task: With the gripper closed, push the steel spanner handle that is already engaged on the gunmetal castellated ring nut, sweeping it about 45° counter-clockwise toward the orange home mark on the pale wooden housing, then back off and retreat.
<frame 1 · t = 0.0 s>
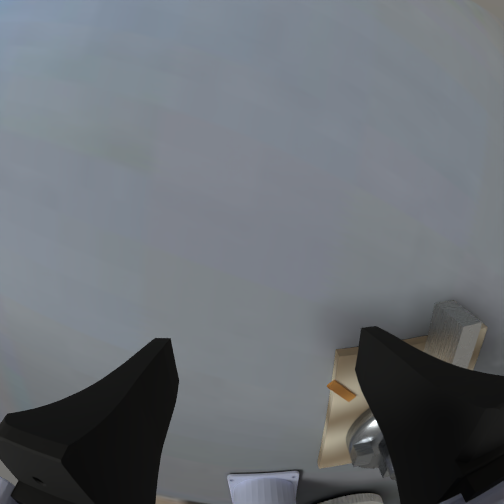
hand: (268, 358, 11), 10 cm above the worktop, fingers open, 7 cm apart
nut housing: (388, 418, 25), on the worktop
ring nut: (417, 410, 20), point 4 cm above the worktop, hinge at 0.0°
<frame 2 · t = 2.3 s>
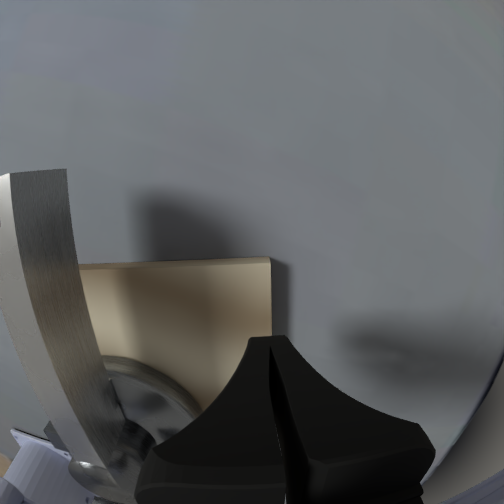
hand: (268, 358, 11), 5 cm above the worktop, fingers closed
nut housing: (135, 405, 17), on the worktop
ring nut: (89, 386, 12), point 4 cm above the worktop, hinge at 0.0°
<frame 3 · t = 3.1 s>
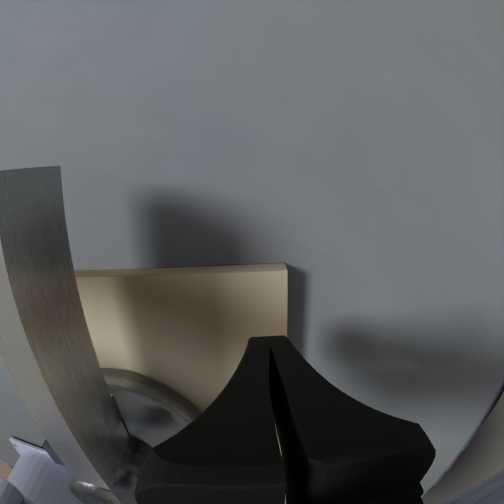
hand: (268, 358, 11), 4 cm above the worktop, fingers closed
nut housing: (138, 417, 16), on the worktop
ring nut: (89, 404, 11), point 4 cm above the worktop, hinge at 0.0°
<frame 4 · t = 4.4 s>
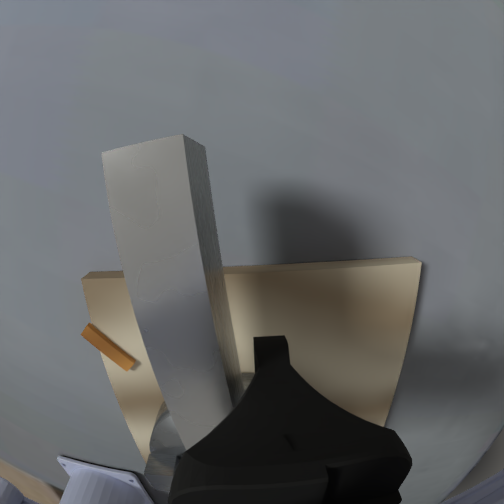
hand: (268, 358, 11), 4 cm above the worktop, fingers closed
nut housing: (242, 422, 16), on the worktop
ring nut: (225, 415, 11), point 4 cm above the worktop, hinge at 4.8°, touching gripper
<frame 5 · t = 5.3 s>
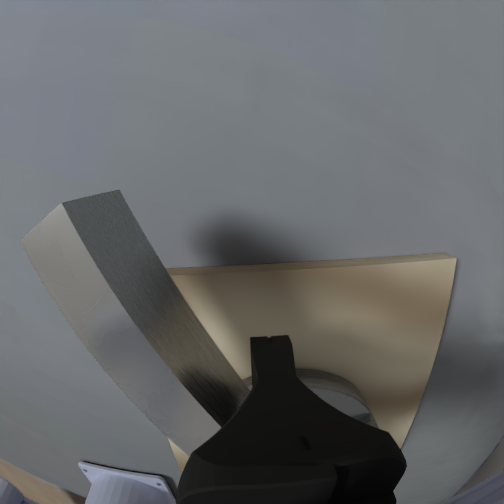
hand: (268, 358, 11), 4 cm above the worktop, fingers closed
nut housing: (281, 419, 16), on the worktop
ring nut: (241, 421, 11), point 4 cm above the worktop, hinge at 25.9°, touching gripper
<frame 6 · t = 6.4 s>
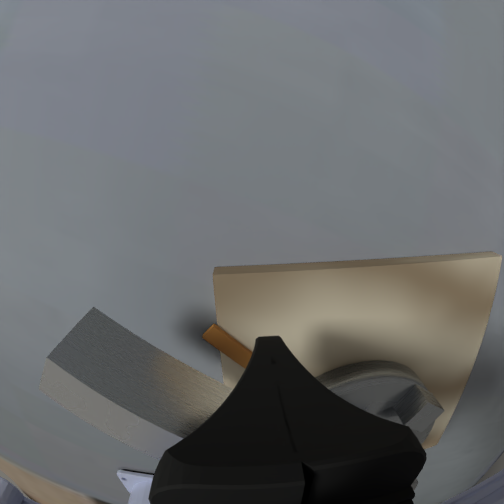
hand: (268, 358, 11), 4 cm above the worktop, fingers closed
nut housing: (343, 412, 16), on the worktop
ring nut: (290, 440, 12), point 4 cm above the worktop, hinge at 53.2°, touching gripper
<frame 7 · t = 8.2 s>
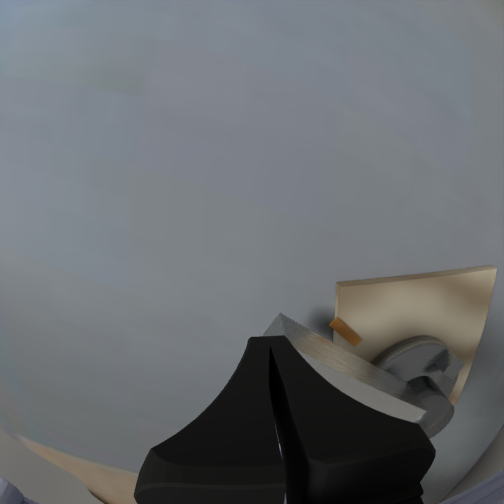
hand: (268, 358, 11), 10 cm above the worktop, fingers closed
nut housing: (398, 374, 24), on the worktop
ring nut: (381, 385, 19), point 4 cm above the worktop, hinge at 53.4°
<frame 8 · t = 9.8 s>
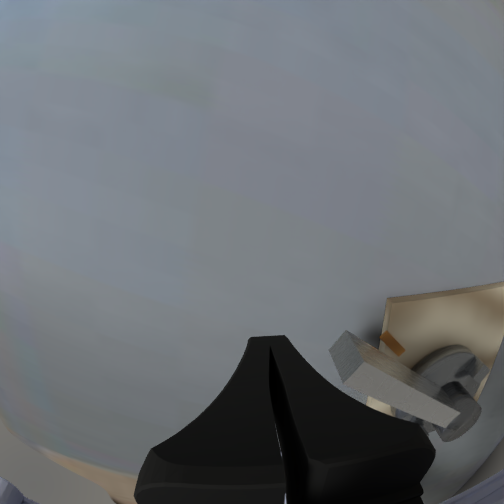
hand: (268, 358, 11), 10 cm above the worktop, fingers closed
nut housing: (429, 380, 25), on the worktop
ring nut: (422, 391, 20), point 4 cm above the worktop, hinge at 53.4°
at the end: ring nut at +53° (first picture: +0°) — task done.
